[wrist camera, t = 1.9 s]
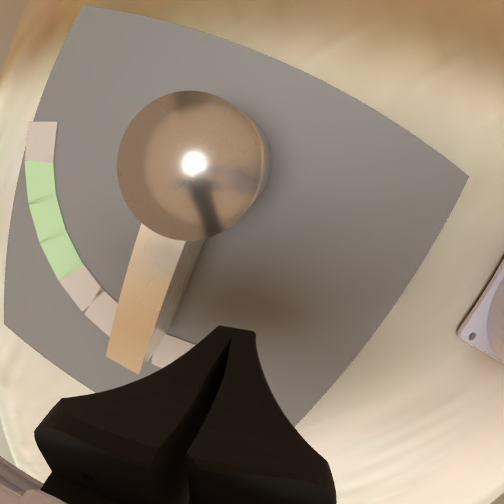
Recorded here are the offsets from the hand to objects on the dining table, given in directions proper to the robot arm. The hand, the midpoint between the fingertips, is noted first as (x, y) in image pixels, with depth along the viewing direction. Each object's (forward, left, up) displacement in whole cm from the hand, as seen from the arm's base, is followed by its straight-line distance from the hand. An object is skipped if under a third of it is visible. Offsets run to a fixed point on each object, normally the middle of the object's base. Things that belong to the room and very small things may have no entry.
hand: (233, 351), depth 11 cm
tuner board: (+5, +1, -5) cm, 7 cm away
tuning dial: (+4, -1, -4) cm, 5 cm away
